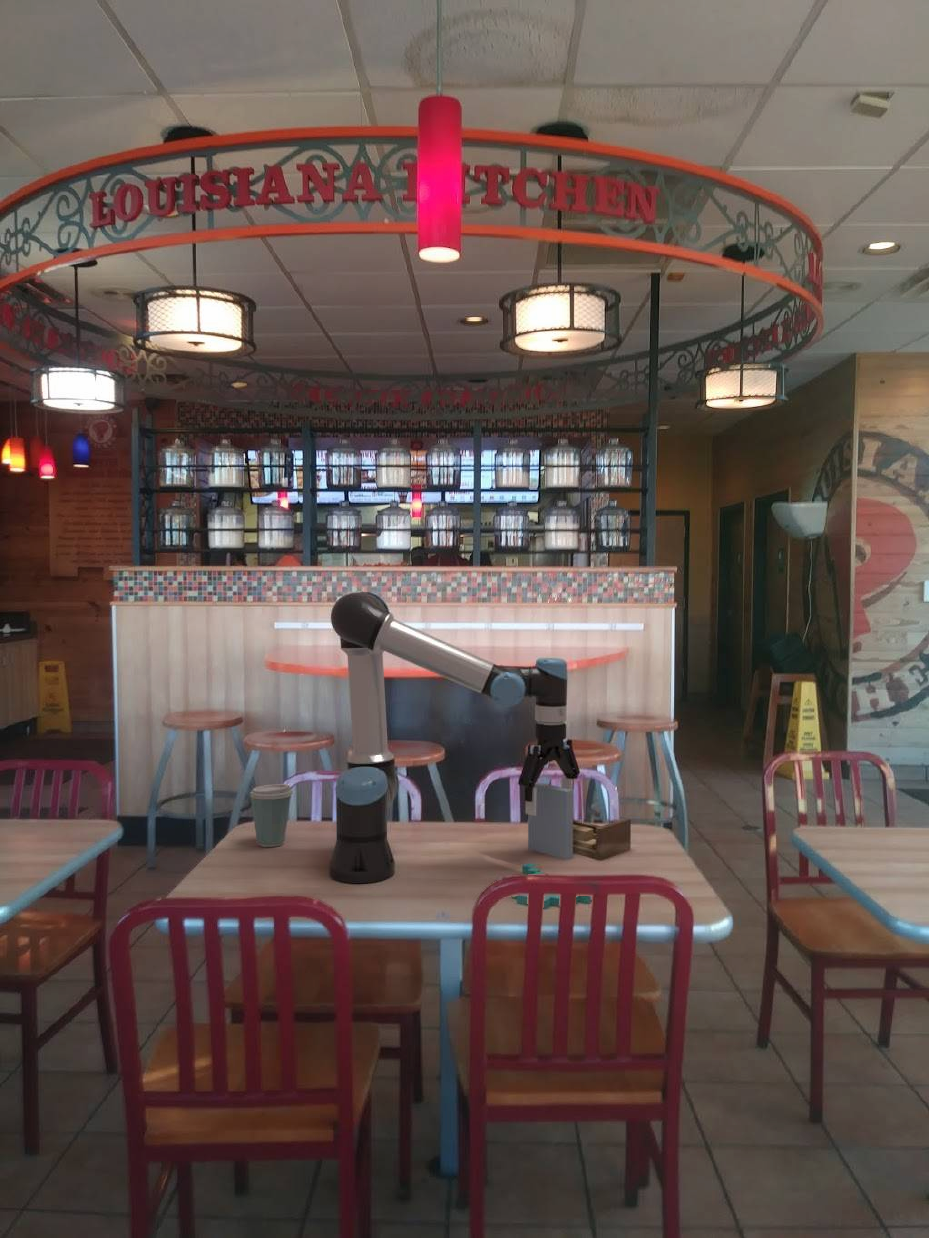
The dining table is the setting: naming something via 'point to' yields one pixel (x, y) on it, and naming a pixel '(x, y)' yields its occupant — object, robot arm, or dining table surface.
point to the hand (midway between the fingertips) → (549, 809)
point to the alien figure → (549, 899)
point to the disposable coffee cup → (270, 813)
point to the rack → (606, 839)
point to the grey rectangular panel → (552, 822)
